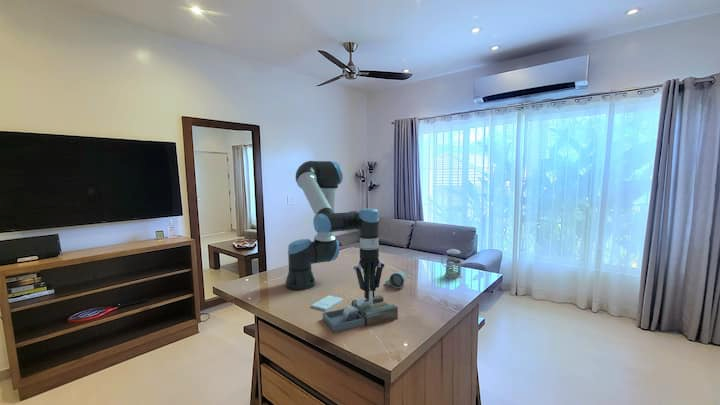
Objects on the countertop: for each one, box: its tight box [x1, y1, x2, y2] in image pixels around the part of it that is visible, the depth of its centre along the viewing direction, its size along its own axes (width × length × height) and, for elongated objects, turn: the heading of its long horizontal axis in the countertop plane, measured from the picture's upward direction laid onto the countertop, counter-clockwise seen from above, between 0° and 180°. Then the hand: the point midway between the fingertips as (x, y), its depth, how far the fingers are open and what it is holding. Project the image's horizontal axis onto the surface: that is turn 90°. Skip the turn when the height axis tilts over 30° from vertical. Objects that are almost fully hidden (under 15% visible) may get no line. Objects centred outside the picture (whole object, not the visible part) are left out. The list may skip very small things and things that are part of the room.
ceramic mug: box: [384, 270, 407, 289], centre depth 153 cm, size 11×8×8 cm
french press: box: [440, 231, 463, 279], centre depth 167 cm, size 10×12×25 cm
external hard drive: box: [310, 294, 344, 312], centre depth 130 cm, size 2×8×12 cm
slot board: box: [350, 294, 399, 327], centre depth 119 cm, size 14×14×4 cm
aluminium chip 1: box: [343, 304, 359, 320], centre depth 114 cm, size 4×4×4 cm
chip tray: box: [322, 307, 366, 333], centre depth 113 cm, size 12×12×2 cm
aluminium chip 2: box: [356, 297, 371, 313], centre depth 116 cm, size 4×4×4 cm
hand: (369, 305), depth 118 cm, fingers closed
